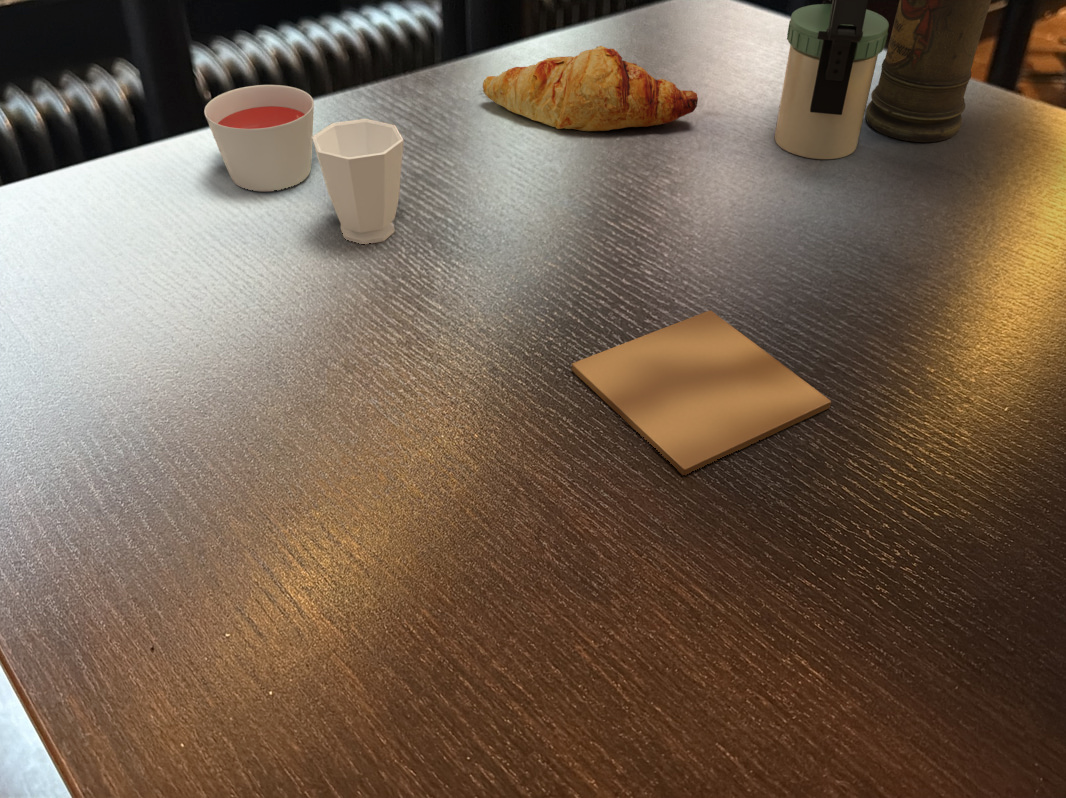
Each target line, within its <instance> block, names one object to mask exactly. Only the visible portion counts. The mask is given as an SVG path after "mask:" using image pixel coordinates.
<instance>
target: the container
mask: <svg viewBox="0 0 1066 798" xmlns="http://www.w3.org/2000/svg"><path fill="white" fill-rule="evenodd" d="M991 2H992V0H899V1H898V4H897V5H898V6H897V9H896V14H895V17H894V22H893V26H892V30H891V34H890V39H889V41H888V46H887V49H886V54H885V57H884V59H883V61H882V63H881V71H880V76H879V80H878V82H877V85H876V86H875V87H874V89H873V90H872V92H871V94H870V97H871V98H870V99H871V101H870V102H868V103H867V105H866V109H865V119H866V122H867V123H868V125H869V126H870V127H871V128H872V129H874V131H877V132H878V133H880V134H882V135H884V136H887V137H890V138H893V139H898V140H901V141H905V142H906V141H907V142H915V143H933V142H941V141H945V140H948V139H951V138H953V137H954V136H955V135H956V134H957V133H958V132H959V130H960V129H961V126H962V123H963V116H962V114H963V112H964V111H965V109H966V102H965V101H966V99H965V95H966V91H967V88H968V85H969V84H968V83H970V81H971V79H972V68H973V65H974V60H975V57H976V52H977V49H978V46H979V42H980V39H981V36H982V32H983V30H984V26H985V23H986V19H987V16H988V12H989V8H990V6H991Z"/></svg>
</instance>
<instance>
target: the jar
mask: <svg viewBox="0 0 1066 798" xmlns="http://www.w3.org/2000/svg"><path fill="white" fill-rule="evenodd" d="M878 56H879V54H878V55H876V56H873V57H870V58H866V59H858V60H853V65H852V70H851V74H850V79H849V84H848V88H847V93H846V98H845V102H844V107H843V112H842V115H836V114H825V113H814V112H810V107H811V102H812V96H813V91H814V86H815V81H816V76H817V70H818V65H819V60H820V57H816V56H813V55H809V54H806V53H804V52H801V51H799V50H797V49H795V48H794V47H793V46H791V45H790V44H789V49H788V55H787V60H786V61H787V62H786V67H785V72H784V78H783V83H782V91H781V96H780V100H779V101H780V102H779V108H778V112H777V113H778V114H777V119H776V125H775V131H774V141H775V143H776V144H777V145H778V146H779V147H780V148H781V149H782V150H784V151H786V152H788V153H789V154H793V155H795V156H799V157H802V158H807V159H813V160H835V159H842V158H844V157H848V156H851V154H853V153H854V152H855V151H856V149H857V148H858V143H859V139H860V134H861V132H862V131H861V130H862V126H863V122H864V118H865V114H866V109H867V106H868V99H869V96H870V91H871V86H872V82H873V78H874V74H875V69H876V65H877V60H878Z"/></svg>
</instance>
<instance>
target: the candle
mask: <svg viewBox="0 0 1066 798" xmlns="http://www.w3.org/2000/svg"><path fill="white" fill-rule="evenodd" d="M314 112H315V102H314V98H313V97H312V96H311V95H310V93H308V92H307V91H304V90H303V89H300V88H297V87H293V86H288V85H281V84H260V85H259V84H257V85H249V86H244V87H239V88H235V89H232V90H228V91H225V92H223V93H221V94H218V95H217V96H215V97H214V98H212V99H211V100H209V102H208V103H206V105H205V106H204V111H203V113H204V116H205V119H206V121H207V124H208V127H209V129H210V131H211V134H212V136H213V139H214V141H215V144H216V146H217V148H218V151H219V153H220V156H221V159H222V160H223V163H224V164H225V168H226V169H227V172H228V175H229V177H230V179H231V180H232V182H233V183H234V184H235V185H237V186H238V187H240V188H241V189H244V188H245V190H247V189H248V191H252V190H253V191H252V192H275V191H274V190H277V191H282V190H285V189H284V188H286V189H289V188H288V187H290V188H292V187H294V185H295V186H297V185H299V184H301V183H302V182H303V181H305V180H306V179H307V178H308V177H309V176H310V173H311V169H312V161H313V160H312V158H313V140H312V136H314ZM300 182H301V183H300ZM291 186H292V187H291ZM281 189H282V190H281Z"/></svg>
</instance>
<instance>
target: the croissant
mask: <svg viewBox="0 0 1066 798" xmlns="http://www.w3.org/2000/svg"><path fill="white" fill-rule="evenodd" d="M482 89H483V90H482V92H483V94H484V95H485V96H486V97H487V98H488V99H489V100H492V101H493V102H494V103H495V104H497V105H499V106H501V107H503V108H504V109H506V110H507V111H508V112H512V113H513V114H515V115H520V116H522V117H525V118H527V119H530V120H532V121H534V122H539V123H541V124H544V125H546V126H550V127H553V128H556V130H557V129H558V130H560V129H561V130H562V129H565V130H578V131H581V132H605V131H606V132H607V131H610V130H621V129H626V128H647V127H652V126H659V125H664V124H670V123H673V122H674V121H676V120H679V119H680V118H682V117H685V116H686V115H689V114H691V113H694V111H695V110H696V109H697V107H698V101H699V99H698V98H699V97H698V94H697V92H695V91H693V90H683V89H682V90H681V89H679V88H678V87H677V85H676V84H675V83H674V82H672V81H669V80H666V79H665V78H659V79H656V78H655V77H653V76H652V75H650V74H649V73H648V71H647V70H646V69H644V68H643V67H642V66H639V65H638V64H637V63H634V62H628V61H626V60H623V57H622V55H620V54H619V52H618V50H616V49H614V48H608V47H605V46H603V45H599V46H596V48H592V49H586V50H583V51H580V53H578V55H575V56H555V57H546V58H545V59H543V60H540V61H538V62H537V63H535V64H531V65H528V66H513V67H511V68H509V69H507V70H505V71H502V72H501V73H499V75H497V76H495V75H489V76H486V78H484V79H483V82H482Z"/></svg>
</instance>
